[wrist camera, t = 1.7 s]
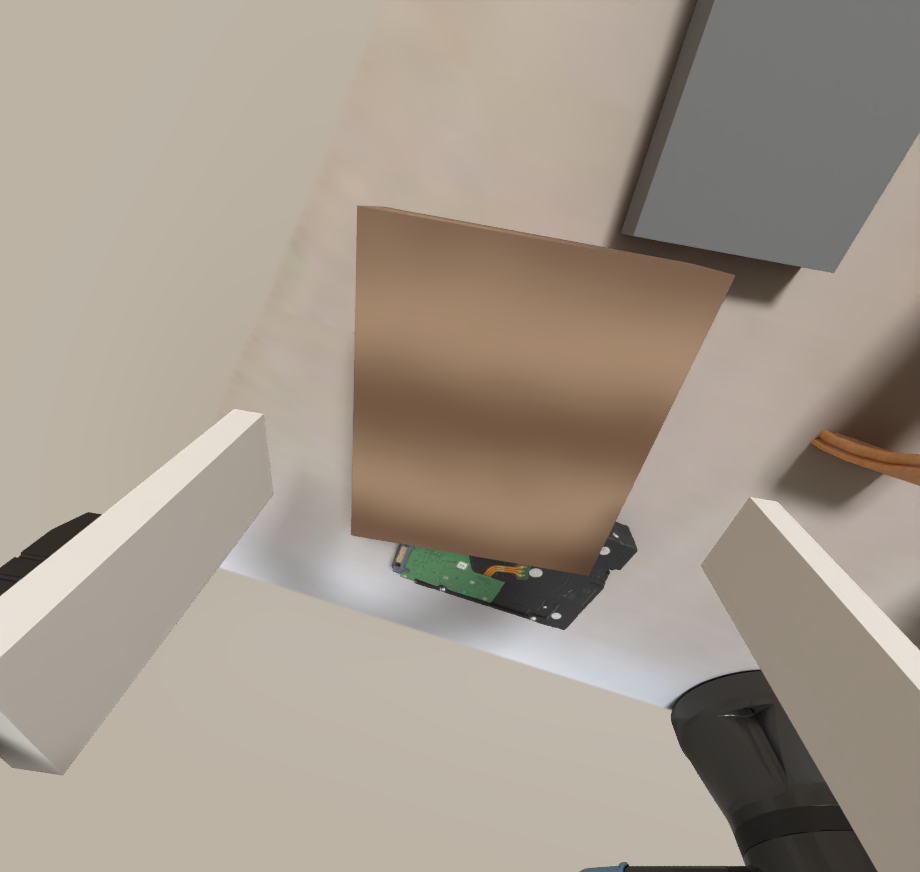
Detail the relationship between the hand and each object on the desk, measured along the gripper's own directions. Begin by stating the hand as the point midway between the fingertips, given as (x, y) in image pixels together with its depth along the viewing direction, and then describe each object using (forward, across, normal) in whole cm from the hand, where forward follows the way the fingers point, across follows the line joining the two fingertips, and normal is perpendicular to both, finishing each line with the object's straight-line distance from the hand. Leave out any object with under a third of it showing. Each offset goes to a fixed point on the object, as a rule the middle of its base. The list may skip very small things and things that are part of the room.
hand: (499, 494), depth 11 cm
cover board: (+7, 0, 0) cm, 7 cm away
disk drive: (+13, -4, +14) cm, 20 cm away
